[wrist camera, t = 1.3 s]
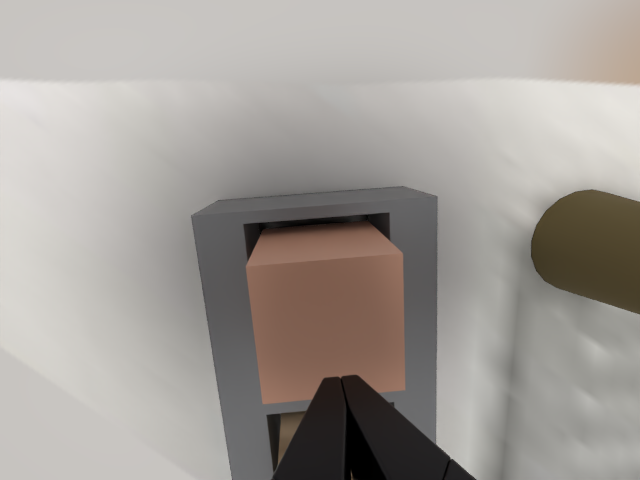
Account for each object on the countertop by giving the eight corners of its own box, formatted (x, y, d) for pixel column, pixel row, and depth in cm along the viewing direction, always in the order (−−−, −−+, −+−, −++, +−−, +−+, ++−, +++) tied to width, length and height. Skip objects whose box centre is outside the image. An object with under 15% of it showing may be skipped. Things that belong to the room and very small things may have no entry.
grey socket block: (406, 434, 23) (435, 507, 18) (252, 450, 23) (239, 529, 18) (403, 186, 20) (437, 196, 15) (218, 200, 19) (191, 215, 14)
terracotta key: (371, 316, 18) (405, 390, 12) (273, 325, 17) (262, 404, 12) (367, 220, 17) (402, 253, 11) (263, 228, 16) (245, 266, 11)
